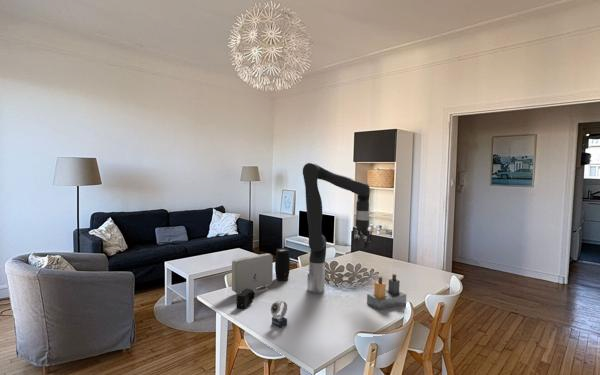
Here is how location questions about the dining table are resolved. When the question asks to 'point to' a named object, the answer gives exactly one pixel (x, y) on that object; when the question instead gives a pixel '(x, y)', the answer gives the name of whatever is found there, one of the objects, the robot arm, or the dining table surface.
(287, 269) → the portable speaker
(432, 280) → the dining table surface
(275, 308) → the watch
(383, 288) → the orange plug
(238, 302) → the digital camera
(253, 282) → the network device
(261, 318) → the dining table surface
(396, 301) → the grey stone block holder
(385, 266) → the dining table surface
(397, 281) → the twin plug
